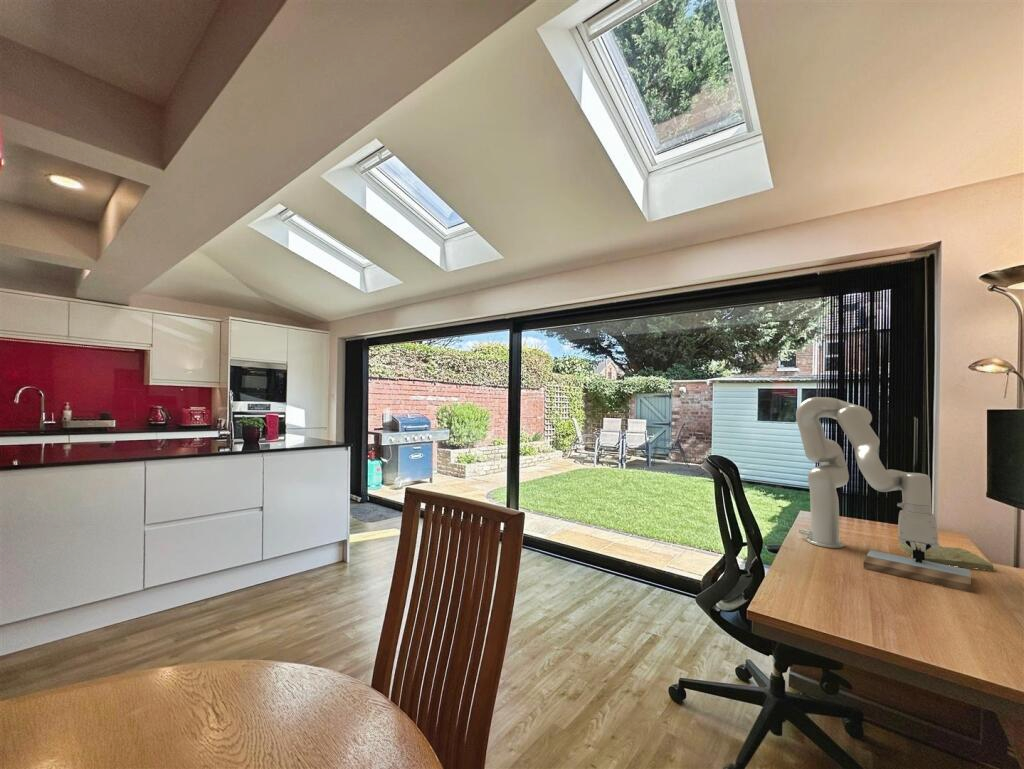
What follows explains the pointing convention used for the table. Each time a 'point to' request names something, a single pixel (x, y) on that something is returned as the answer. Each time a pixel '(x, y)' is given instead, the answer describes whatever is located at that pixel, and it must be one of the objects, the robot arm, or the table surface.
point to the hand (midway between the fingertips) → (919, 561)
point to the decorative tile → (951, 557)
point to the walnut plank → (919, 573)
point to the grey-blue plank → (924, 563)
